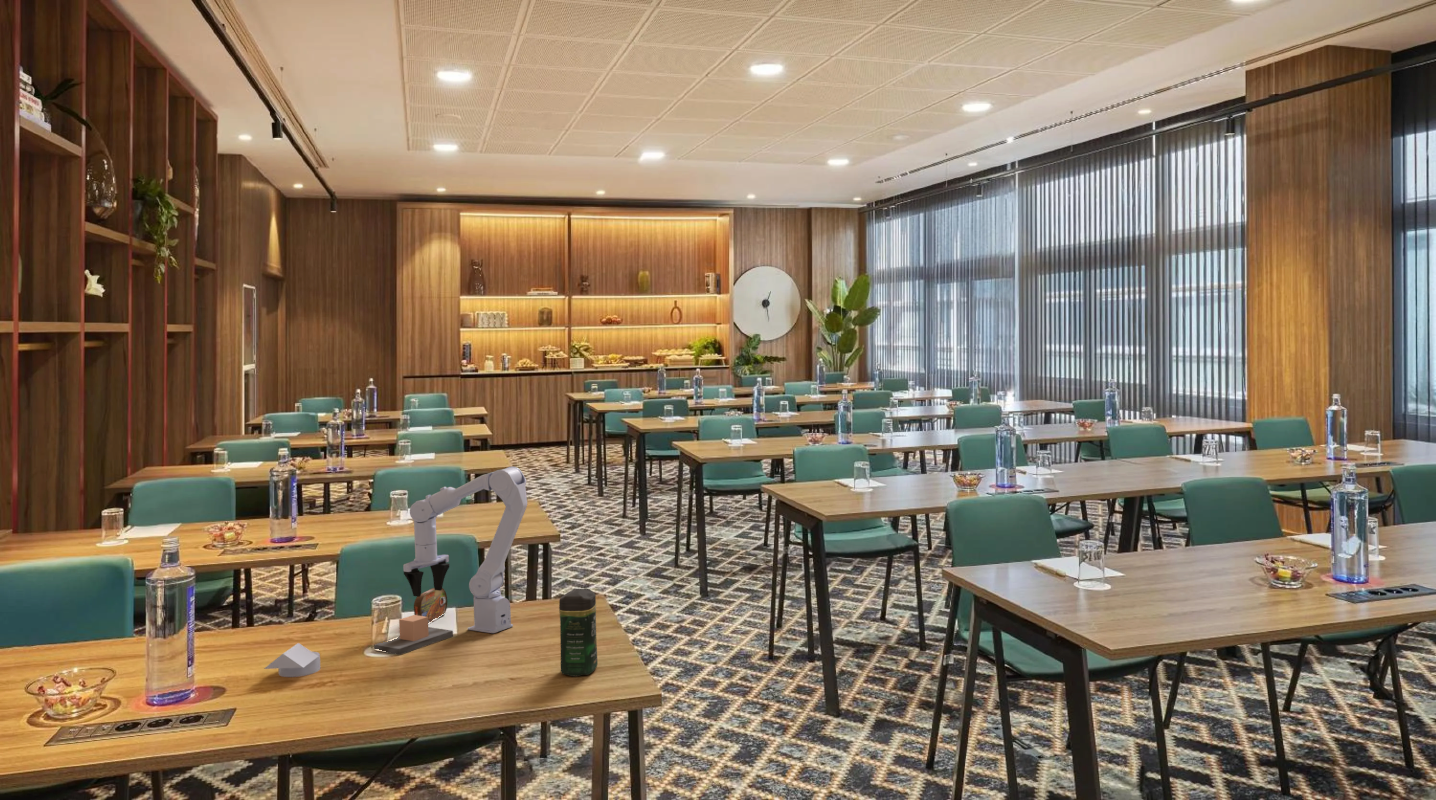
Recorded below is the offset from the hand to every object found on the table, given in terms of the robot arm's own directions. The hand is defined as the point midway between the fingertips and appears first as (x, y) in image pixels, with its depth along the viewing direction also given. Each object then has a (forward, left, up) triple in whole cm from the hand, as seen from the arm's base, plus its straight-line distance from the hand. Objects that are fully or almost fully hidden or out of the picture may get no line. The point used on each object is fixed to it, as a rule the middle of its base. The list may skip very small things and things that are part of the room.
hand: (427, 592), depth 265 cm
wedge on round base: (-2, +43, -10) cm, 44 cm away
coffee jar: (-62, +13, -10) cm, 64 cm away
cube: (-9, +13, -8) cm, 17 cm away
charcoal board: (-9, +13, -9) cm, 18 cm away
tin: (+6, -6, -10) cm, 13 cm away
